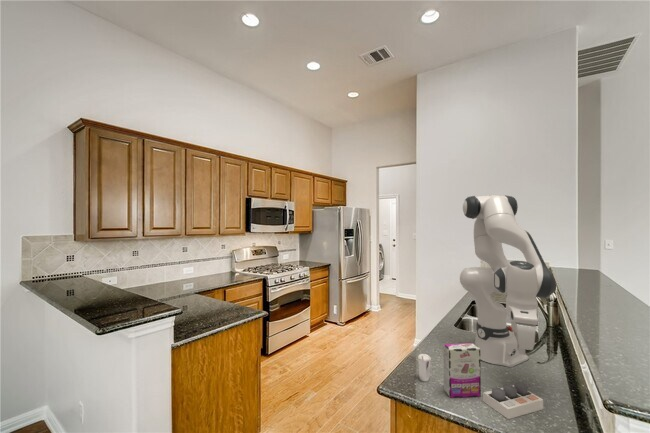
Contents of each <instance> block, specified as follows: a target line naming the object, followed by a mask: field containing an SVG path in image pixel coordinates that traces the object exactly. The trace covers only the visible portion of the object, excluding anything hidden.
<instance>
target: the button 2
mask: <svg viewBox="0 0 650 433" xmlns="http://www.w3.org/2000/svg"><path fill="white" fill-rule="evenodd" d="M513 385H514V387H515V388H516V389H517V393H518V394H519V395H521V396H526V395H528V391H529V386H528V385H527V384H525V383H524V382H521V381H519V382H518V381H517V382H516V381H515V382H514V383H513Z"/></svg>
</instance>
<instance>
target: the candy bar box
mask: <svg viewBox="0 0 650 433" xmlns="http://www.w3.org/2000/svg"><path fill="white" fill-rule="evenodd" d="M442 349H443V350H442V351H443V391H444V392H445V393H446V395H447V396H448V397H449V399H450V398H452V399H453V398H454V399H456V398H474V397H481V395H482V393H481V391H482V384H481V381H482V379H481V377H482V374H481V367H482V366H481V360H480V348H479V347H477V346H476V345H475V343H473V342H471V343H470V342H468V343H443V348H442Z"/></svg>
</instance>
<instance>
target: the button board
mask: <svg viewBox="0 0 650 433" xmlns="http://www.w3.org/2000/svg"><path fill="white" fill-rule="evenodd" d="M511 386H513V387H514V384H513V385H511ZM499 388H500V387H499ZM500 389H502V390H503V387H501V388H500ZM482 395H483V399H482V400H483V402H484V403H485V404H486V405H488V406H489V407H490V408H492V409H493V410H495V411H496V412H497V413H499V414H500V415H502V416H503V417H505V418H506V419H507V420H510V419H514V418H517V417H521V416H523V415H524V416H525V415H527V414H530V413H531V414H532V413H534V412H538V411H541V410H544V399H543V398H542V397H540V396H538V395H536V394H534V393H533V392H531V391H529V390H528V395H526V396H521V395H519V394H518V393H517V398H515V399H510V398H508V397H507V396H505V401H503V402H498V401H496V400H495V399H493V398H492V389H491V390H487V391H484V392H483V393H482Z"/></svg>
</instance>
